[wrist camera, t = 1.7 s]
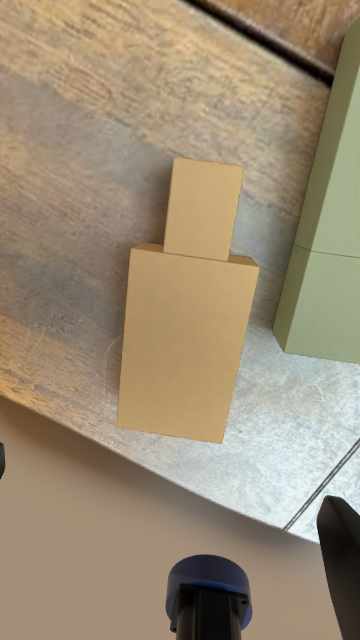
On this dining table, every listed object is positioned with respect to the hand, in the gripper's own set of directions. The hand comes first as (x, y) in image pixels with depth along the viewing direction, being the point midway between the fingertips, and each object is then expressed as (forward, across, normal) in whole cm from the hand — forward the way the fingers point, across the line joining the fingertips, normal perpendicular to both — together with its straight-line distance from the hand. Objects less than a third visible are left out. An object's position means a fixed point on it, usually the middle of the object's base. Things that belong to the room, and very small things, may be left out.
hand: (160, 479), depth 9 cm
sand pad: (+11, 0, -2) cm, 11 cm away
